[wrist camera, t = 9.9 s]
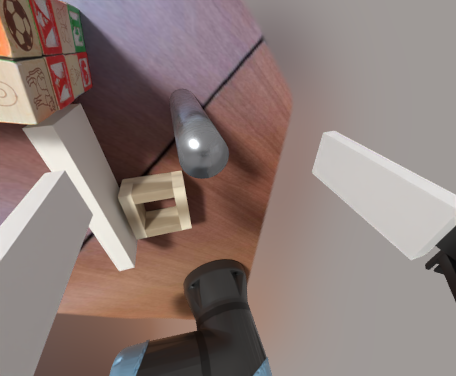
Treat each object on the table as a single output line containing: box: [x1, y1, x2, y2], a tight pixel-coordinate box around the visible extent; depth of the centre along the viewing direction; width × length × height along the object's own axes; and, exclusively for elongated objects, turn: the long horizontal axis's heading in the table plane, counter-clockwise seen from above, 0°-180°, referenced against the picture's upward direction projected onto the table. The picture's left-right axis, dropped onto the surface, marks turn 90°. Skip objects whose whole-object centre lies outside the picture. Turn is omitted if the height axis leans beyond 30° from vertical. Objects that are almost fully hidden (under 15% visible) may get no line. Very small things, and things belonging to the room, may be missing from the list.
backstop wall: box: [22, 103, 137, 271], centre depth 24 cm, size 20×2×7 cm, turn 2°
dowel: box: [169, 89, 229, 179], centre depth 18 cm, size 3×3×14 cm
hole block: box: [118, 171, 192, 240], centre depth 28 cm, size 8×8×4 cm
